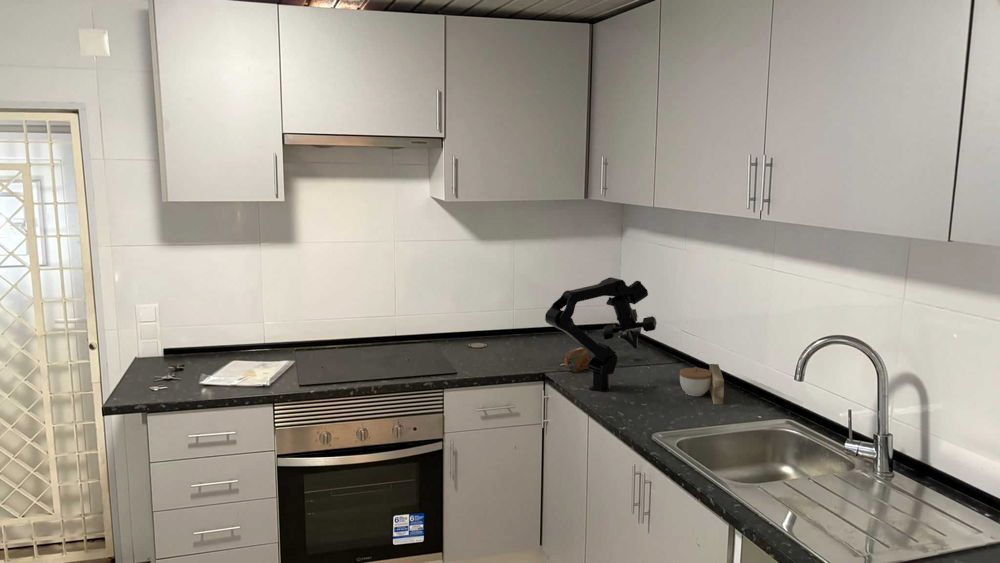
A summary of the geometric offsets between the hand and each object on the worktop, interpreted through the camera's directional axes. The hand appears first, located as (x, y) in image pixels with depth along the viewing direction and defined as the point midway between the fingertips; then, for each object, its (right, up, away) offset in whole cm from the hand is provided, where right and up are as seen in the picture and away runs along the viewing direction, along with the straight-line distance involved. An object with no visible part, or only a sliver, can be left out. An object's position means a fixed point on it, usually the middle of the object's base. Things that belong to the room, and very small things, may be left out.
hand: (636, 348), depth 266 cm
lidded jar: (+18, -15, -11) cm, 26 cm away
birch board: (+25, -15, -12) cm, 31 cm away
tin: (-18, -10, +19) cm, 28 cm away
